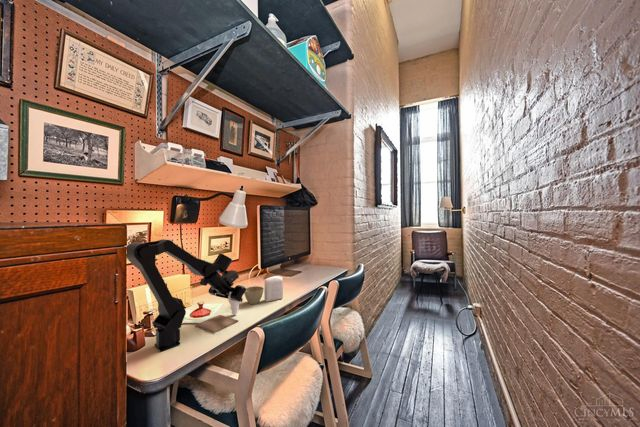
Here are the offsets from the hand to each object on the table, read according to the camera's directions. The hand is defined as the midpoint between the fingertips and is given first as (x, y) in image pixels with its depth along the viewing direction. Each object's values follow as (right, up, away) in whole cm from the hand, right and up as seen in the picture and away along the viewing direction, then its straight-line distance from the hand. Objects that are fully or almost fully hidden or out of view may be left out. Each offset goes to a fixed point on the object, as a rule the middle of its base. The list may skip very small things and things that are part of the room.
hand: (237, 299), depth 118 cm
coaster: (-5, -7, -11) cm, 14 cm away
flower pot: (+4, -7, +15) cm, 17 cm away
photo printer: (+13, -7, +20) cm, 25 cm away
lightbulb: (-1, -7, -1) cm, 7 cm away
